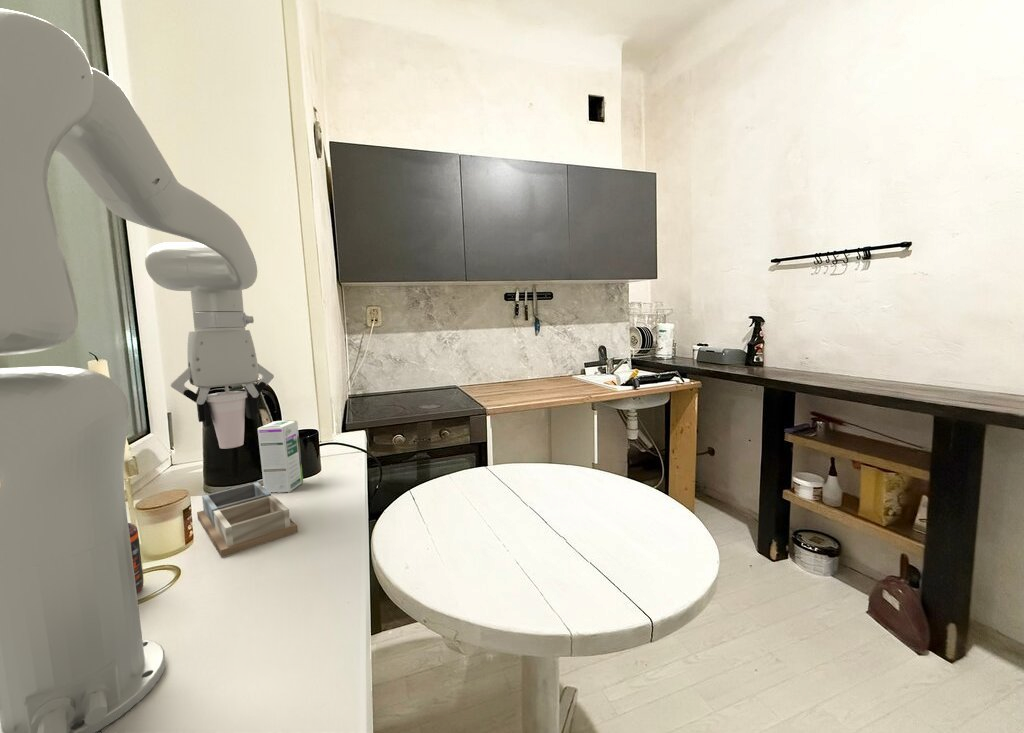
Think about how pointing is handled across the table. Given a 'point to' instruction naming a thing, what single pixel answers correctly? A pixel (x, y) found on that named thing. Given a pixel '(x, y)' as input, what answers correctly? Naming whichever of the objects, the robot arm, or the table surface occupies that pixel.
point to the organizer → (244, 518)
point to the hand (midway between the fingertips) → (229, 420)
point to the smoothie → (228, 416)
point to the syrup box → (280, 456)
